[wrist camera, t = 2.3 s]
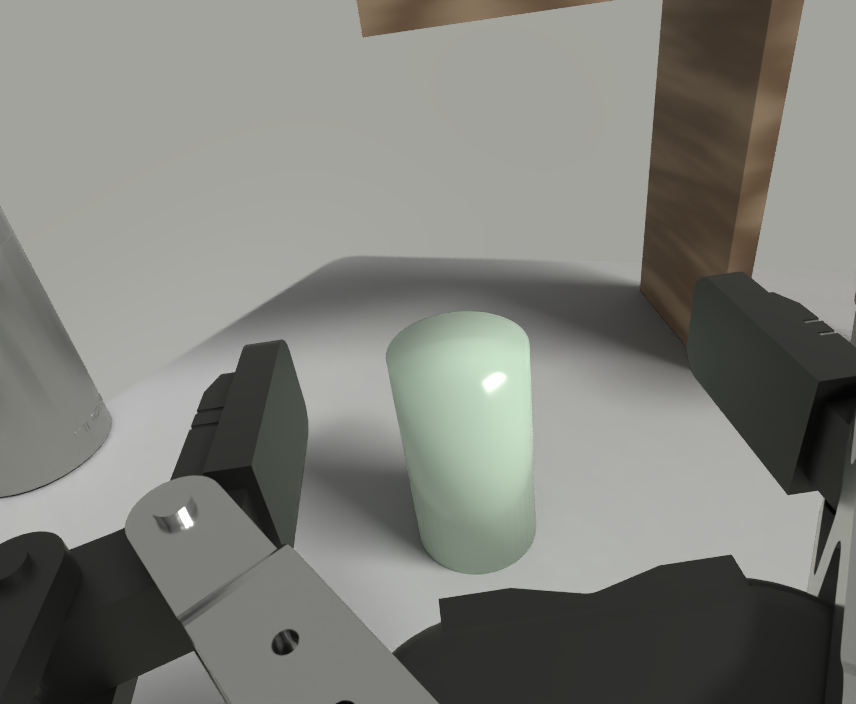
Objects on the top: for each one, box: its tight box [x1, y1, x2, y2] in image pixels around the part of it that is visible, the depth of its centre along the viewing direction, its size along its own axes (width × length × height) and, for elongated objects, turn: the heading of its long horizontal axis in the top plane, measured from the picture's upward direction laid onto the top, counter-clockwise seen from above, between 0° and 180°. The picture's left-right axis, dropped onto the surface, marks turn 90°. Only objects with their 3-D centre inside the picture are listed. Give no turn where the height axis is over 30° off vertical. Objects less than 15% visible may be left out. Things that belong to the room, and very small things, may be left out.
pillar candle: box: [386, 311, 536, 574], centre depth 29 cm, size 6×6×11 cm
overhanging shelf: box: [357, 0, 804, 347], centre depth 38 cm, size 20×12×24 cm, turn 95°
